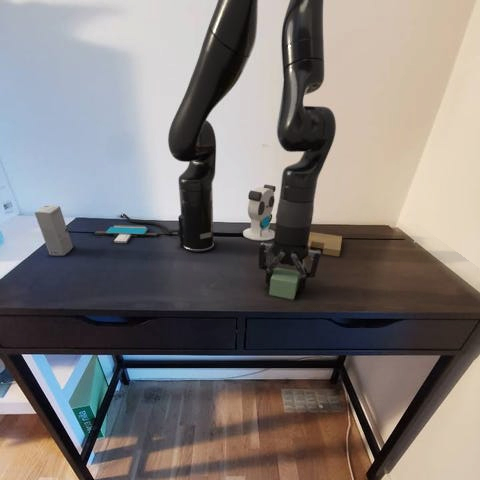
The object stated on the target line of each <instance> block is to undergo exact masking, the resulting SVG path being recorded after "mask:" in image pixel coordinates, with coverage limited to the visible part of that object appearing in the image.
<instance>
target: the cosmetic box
mask: <svg viewBox="0 0 480 480" xmlns="http://www.w3.org/2000/svg"><path fill="white" fill-rule="evenodd" d="M34 215H35V218H36V221H37V224H38V226H39V229H40V232H41V235H42V237H43V241H44V243H45V245H46V248H47V251H48V254H49V256H53V257H54V256H55V257H64V256H66V255H67V254H68V253H69V252H71V250H72V249H73V248H74V247H73V243H72V240H71V236H70V233H69V230H68V228H67V224H66V221H65V218H64V215H63V212H62V209H61V206H60V205H45V206H43V207H40V208H39V209H38V210H36V211H34Z"/></svg>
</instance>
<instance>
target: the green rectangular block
mask: <svg viewBox="0 0 480 480" xmlns="http://www.w3.org/2000/svg"><path fill="white" fill-rule="evenodd" d="M300 277H301V275H300V273H299V271H298V270H294V269H289V268H288V269H286V268H282V267H275V268H274V271H273V275H272V277H271V282H270V286H269V290H268V291H269V292H268V295H269V296H272V297H278V298H283V299H288V300H295V297H296V294H297V292H298V288H299V282H300Z"/></svg>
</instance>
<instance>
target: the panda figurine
mask: <svg viewBox="0 0 480 480" xmlns="http://www.w3.org/2000/svg"><path fill="white" fill-rule="evenodd" d="M276 189H277V188H276V186H275V185H271V184H264V185H263V187H257V188H255V189H253V190H249V192H248V196H247V197H248V205H247V214H248V215H247V216H248V217H249V219H250V227H248V228H245V229H244V230H243V231H242V235H243V237H245V238H246V239H249V240H252V241H258V242H260V241H261V242H266V241H271V240H274V236H275V230H273V229H270V226H271V221H272V219H273V209H274V205H275V201H276V199H275V193H276Z"/></svg>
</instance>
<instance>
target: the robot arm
mask: <svg viewBox="0 0 480 480" xmlns="http://www.w3.org/2000/svg"><path fill="white" fill-rule="evenodd" d="M258 10H259V0H217V2H216V6H215V9H214V11H213V13H212V16H211V19H210V21H209V23H208V27H207V30H206V32H205V36H204V38H203V42H202V44H201V49H200V51H199V55H198V57H197V61H196V64H195V66H194V69H193V72H192V74H191V77H190V80H189V82H188V85H187V88H186V90H185V93H184V96H183V97H182V99H181V101H180V105H179V106H178V109H177V111H176V112H175V115H174V117H173V119H172V121H171V123H170V127H169V130H168V136H167V142H168V143H167V144H168V150H169V152H170V154H171V156H172V158H174V159H175V160H176V161H179V162H183V163H188V165H187V167H186V169H185V170H184V171H183V172H182V173H181V174H180V175H179V176H178V180H177V181H178V193H179V205H180V208H179V209H180V214H179V215H178V218H177V219H178V229H171V230H169V231H168V230H167V229H166V227H165V226H164V225H162V224H160V223H159V222H154V221H142V220H141V221H140V220H134V219H131V218H130V217H129V216H128V215H126V214H125V213H122V214H123V216H122V214H120V216H119V218H123V217H124V218H125V219H126V220H127V221H129V222H130V223H134V224H139V225H153V226H157V227H159V228H161V229H162V230H163V232H164V233H165V234H166V235H168V236H171V235H172V234H173V233H177V238H179V242H180V248H181V249H183V250H185V251H188V252H192V253H205V252H208V251H211V250H213V249H214V247H215V243H214V205H213V204H214V199H213V197H214V195H213V194H214V191H213V189H214V188H213V187H214V186H213V183H214V180H215V176H216V163H217V162H216V161H217V139H216V133H215V129H214V127H213V126H212V123H210V122H209V121H208V120H207V119H208V118H209V116H210V114H211V113H212V111H213V110H214V109H215V108H216V107H217V105H218V104H219V103H220V102H221V101H222V100H223V99H224V98H225V97H226V96H227V95H228V94H229V93H230V91H232V89H233V88H234V86H236V84H237V83H238V82H239V80H240V78H241V77H242V74H243V73H244V70H245V68H246V66H247V64H248V61H249V60H250V57H251V55H252V52H253V50H254V48H255V44H256V40H257V34H258V17H259V15H258V13H259V11H258ZM282 22H283V23H282V27H281V34H280V35H281V37H280V38H281V39H280V47H281V48H280V50H281V65H282V80H283V81H282V91H281V98H280V105H279V111H278V117H277V124H276V137H277V141H278V142H279V143H278V144H279V145H280V147H281V149H283V150H284V151H286V152H289V153H298V152H299V153H303V154H302V155H301V157H300V159H299V160H298V161H297V162H295V163H292V164H288V165H287V166H286V167H285V168H284V169H283V170H282V173H281V180H280V192H279V198H278V204H277V208H276V213H275V226H274V232H275V236H274V239H273V242H272V243H267V242H266V241H261V243H260V245H259V247H258V269H259V270H263V271H265V285H267V287H270V282H271V277H272V275H273V273H274V271H275V268H277V265H278V264H280V265H284V266H285V265H288V266H291V267H295V268H296V271H299V273H300V277H299V283H298V288H297V293H302V291H304V290H305V288H306V284H307V280H308V278H311V279H314V278H315V277H316V274H317V269H318V267H319V261H320V258H321V255H322V250H320V249H316V250H313V249H310V250H309V248H308V241H309V235H310V232H311V228H312V222H313V217H314V211H315V198H316V192H317V186H318V180H319V177H320V175H321V173H322V170H323V168H324V165H325V162H326V161H327V158H328V156H329V153H330V151H331V149H332V146H333V143H334V142H335V138H336V137H335V136H336V131H337V122H336V121H337V120H336V116H335V114H334V112H333V110H332V109H330V108H329V107H327V106H322V105H321V106H320V105H319V106H317V105H316V106H315V105H314V106H313V105H304V97H305V96H307V95H310V94H313V93H315V92H316V91H318V90H319V89H321V87H322V86H323V84H324V80H325V45H324V44H325V43H324V40H325V39H324V0H289V3H288V5H287V9H286V11H285V15H284V19H283V21H282ZM270 251H271V252H272V254H273V256H274V257H273V258H272V260H271V261H270V262H269V263H268V262H267V254H268V253H269V252H270ZM307 256H309V260H310V261H312V263H311V268H310V269H307V266H306V262H305V259H306V257H307Z"/></svg>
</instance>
